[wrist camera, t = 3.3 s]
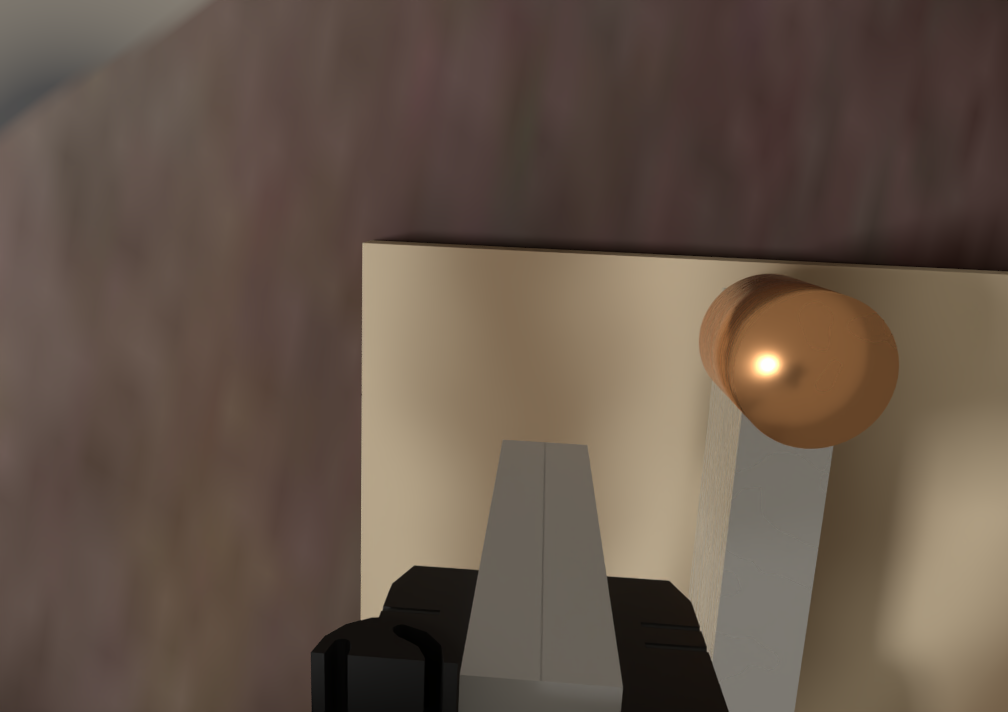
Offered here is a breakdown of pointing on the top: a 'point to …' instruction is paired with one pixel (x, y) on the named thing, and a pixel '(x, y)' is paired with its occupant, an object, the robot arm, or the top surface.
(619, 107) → the top surface
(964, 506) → the press base
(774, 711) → the lever
